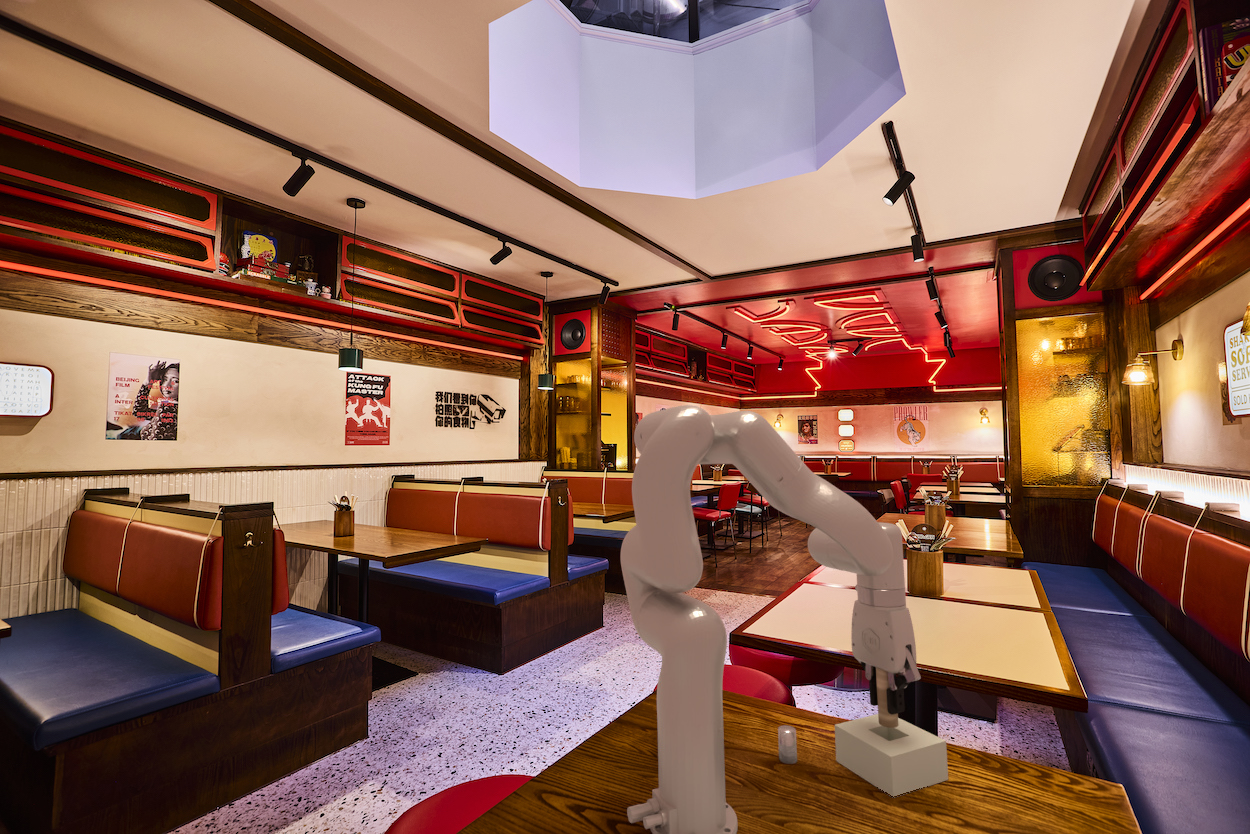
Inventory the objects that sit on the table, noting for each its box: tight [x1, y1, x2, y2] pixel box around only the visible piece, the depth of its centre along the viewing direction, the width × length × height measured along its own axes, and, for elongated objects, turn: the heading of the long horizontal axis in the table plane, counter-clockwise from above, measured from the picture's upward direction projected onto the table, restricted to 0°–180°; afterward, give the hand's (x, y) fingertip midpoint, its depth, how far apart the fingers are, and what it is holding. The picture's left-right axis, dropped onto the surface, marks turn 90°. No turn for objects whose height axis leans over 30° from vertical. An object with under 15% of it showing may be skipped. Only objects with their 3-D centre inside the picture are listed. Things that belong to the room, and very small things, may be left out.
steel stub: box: [777, 724, 798, 765], centre depth 100 cm, size 3×3×5 cm
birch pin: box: [876, 667, 899, 728], centre depth 97 cm, size 3×3×12 cm
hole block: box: [834, 713, 949, 798], centre depth 96 cm, size 12×12×6 cm
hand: (887, 707), depth 96 cm, fingers closed on birch pin, 3 cm apart
